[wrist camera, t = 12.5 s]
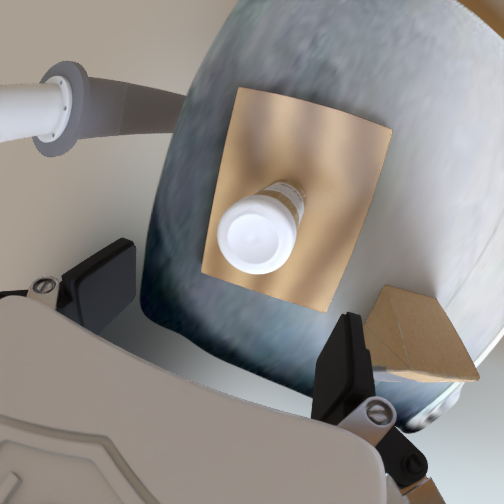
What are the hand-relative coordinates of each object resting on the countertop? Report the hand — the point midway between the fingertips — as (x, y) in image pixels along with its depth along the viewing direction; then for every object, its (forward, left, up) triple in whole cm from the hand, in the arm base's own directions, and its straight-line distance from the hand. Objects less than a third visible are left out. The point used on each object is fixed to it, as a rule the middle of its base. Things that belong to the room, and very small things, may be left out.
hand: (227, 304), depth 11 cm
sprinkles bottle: (0, 0, -19) cm, 19 cm away
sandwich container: (+18, -13, -20) cm, 30 cm away
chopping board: (0, 0, -20) cm, 20 cm away
